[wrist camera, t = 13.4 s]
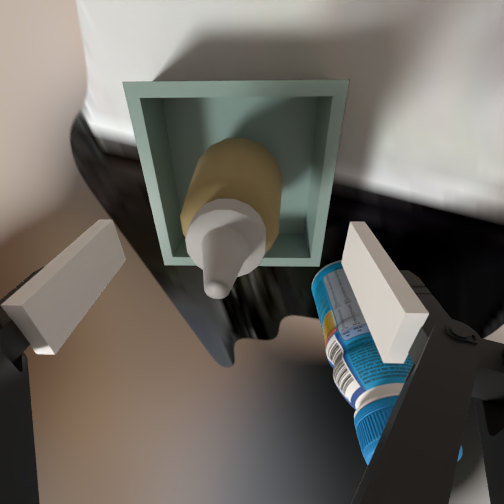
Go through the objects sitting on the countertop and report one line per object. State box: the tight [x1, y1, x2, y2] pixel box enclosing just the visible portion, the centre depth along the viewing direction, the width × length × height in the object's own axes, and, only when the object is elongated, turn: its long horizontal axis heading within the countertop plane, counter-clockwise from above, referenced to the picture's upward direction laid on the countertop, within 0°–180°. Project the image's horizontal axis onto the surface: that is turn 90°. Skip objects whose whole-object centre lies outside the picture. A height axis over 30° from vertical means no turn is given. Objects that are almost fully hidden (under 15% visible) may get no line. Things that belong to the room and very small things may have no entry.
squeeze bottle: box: [180, 138, 283, 299], centre depth 19 cm, size 8×8×18 cm
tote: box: [122, 80, 349, 266], centre depth 25 cm, size 16×16×6 cm
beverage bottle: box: [312, 260, 462, 465], centre depth 27 cm, size 8×8×20 cm
